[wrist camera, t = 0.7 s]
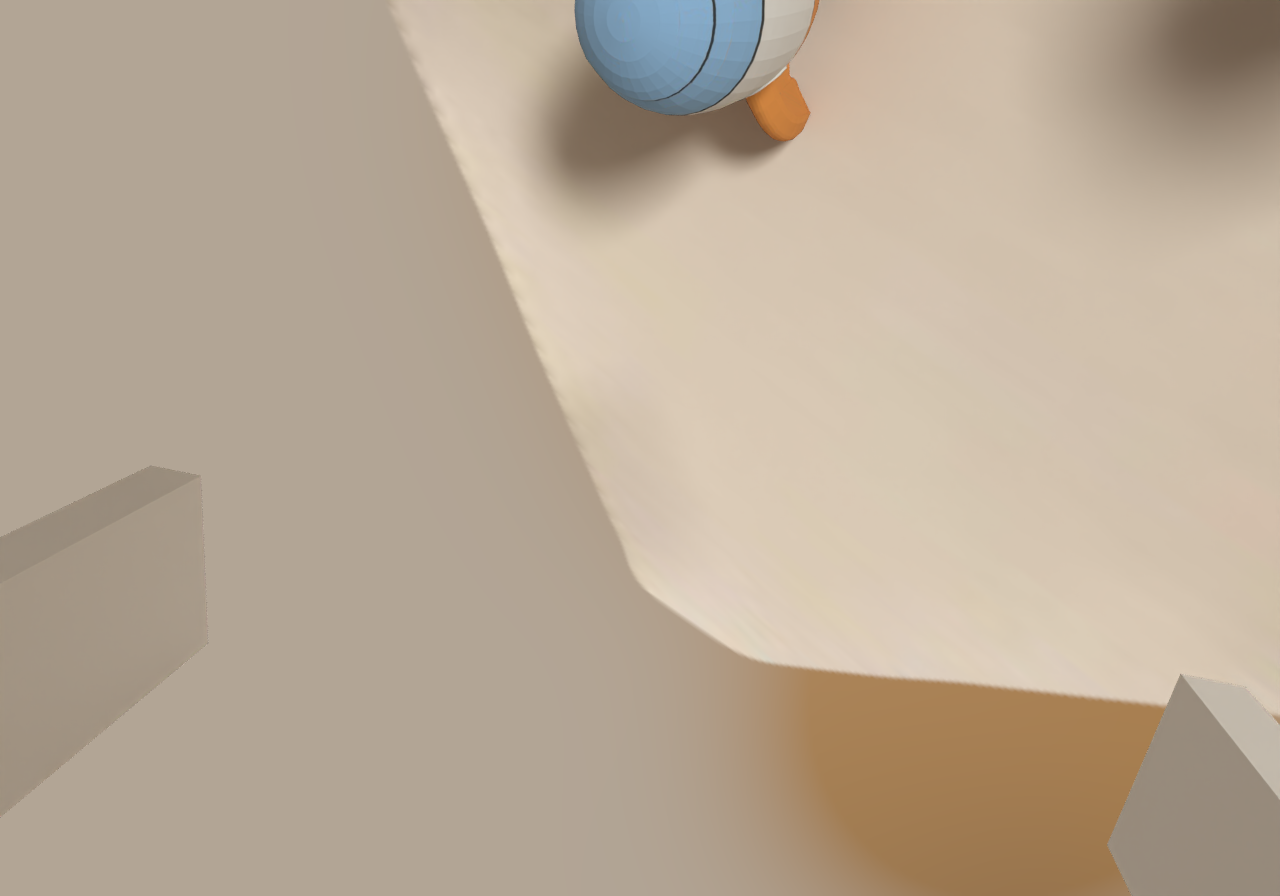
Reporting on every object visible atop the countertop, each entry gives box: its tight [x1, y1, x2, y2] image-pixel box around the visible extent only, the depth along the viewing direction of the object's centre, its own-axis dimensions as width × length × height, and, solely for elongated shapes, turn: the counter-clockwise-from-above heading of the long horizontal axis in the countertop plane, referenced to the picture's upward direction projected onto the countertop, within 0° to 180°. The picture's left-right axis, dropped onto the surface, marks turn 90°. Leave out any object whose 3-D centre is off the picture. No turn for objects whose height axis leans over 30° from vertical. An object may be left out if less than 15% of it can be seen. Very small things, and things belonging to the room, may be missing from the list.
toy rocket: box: [575, 0, 819, 141], centre depth 32 cm, size 10×11×15 cm
